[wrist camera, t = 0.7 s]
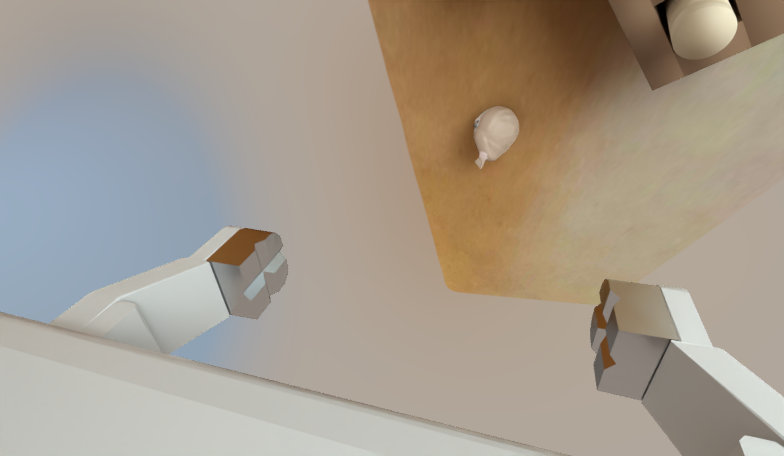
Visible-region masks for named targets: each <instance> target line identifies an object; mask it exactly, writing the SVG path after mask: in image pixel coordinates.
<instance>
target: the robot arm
mask: <svg viewBox="0 0 784 456" xmlns="http://www.w3.org/2000/svg"><path fill="white" fill-rule="evenodd" d="M282 247H283V244H282V241H281V238H280V236H279V235H278V234H276V233H273V232H267V231H261V230H255V229H248V228H242V227H234V226H227V227H224V228H223V229H222V230H220V231H219V232H218V233H217V234H216V235H215V236H213V237H212V238H211V239H210V240H209V241H208V242H207V243H205V244H204V245H203V246H202V247H201V248H199V249H198V250H197V251H196V252H195V253H194V254H192V255H191V256H190V257H189V258H181V259H178V260H176V261H173V262H170V263H168V264H165V265H162V266H160V267H157V268H154V269H152V270H149V271H146V272H144V273H141V274H138V275H135V276H133V277H130V278H128V279H125V280H122V281H119V282H117V283H114V284H111V285H109V286H107V287H103V288H101V289H98V290H96V291H93V292H90V293H89V294H88V295H86V296H85V297H84V298H82V299H81V300H80V301H79V302H77V303H76V304H74V305H73V306H72V307H70V308H69V309H68V310H67V311H65V312H64V313H63V314H61V315H60V316H59V317H57V318H56V319H55V320H53V321H52V322H51V323H49V324H46V323H43V322H39V321H35V320H30V319H27V318H23V317H19V316H15V315H11V314H7V313H3V312H0V456H570V455H566V454H561V453H558V452H554V451H550V450H546V449H542V448H538V447H534V446H530V445H526V444H522V443H518V442H514V441H510V440H506V439H502V438H498V437H494V436H490V435H486V434H483V433H479V432H474V431H470V430H466V429H462V428H459V427H455V426H451V425H447V424H443V423H439V422H435V421H431V420H427V419H423V418H419V417H415V416H411V415H407V414H403V413H399V412H395V411H391V410H387V409H383V408H379V407H375V406H372V405H368V404H364V403H360V402H355V401H352V400H348V399H344V398H340V397H336V396H332V395H328V394H324V393H320V392H316V391H312V390H308V389H304V388H300V387H296V386H292V385H289V384H284V383H280V382H277V381H273V380H269V379H265V378H261V377H257V376H253V375H249V374H245V373H241V372H237V371H233V370H229V369H225V368H221V367H217V366H213V365H209V364H205V363H201V362H197V361H194V360H189V359H186V358H182V357H177V356H174V355H170V353H171V352H173V351H174V350H176V349H178V348H179V347H181V346H182V345H184V344H186V343H187V342H189V341H190V340H192V339H194V338H195V337H197V336H199V335H200V334H202V333H203V332H205V331H207V330H208V329H210V328H211V327H213V326H215V325H216V324H218V323H220V322H221V321H223V320H224V319H226V318H228V317H229V316H230V315H235V316H240V317H247V318H252V319H258V318H259V316H260V315H261V314H262V313H263V311H264V310H265V309H266V307H267V306H268V305H269V304H270V295H272V294H274V293H276V292H278V291H280V289H281V288H282V287H283V285H284V284H285V281H286V278H287V275H288V264H287V260H286V258H285V257H284V256H283V255H282V254H281V252H280V250H281V248H282ZM599 293H600V300H601V304H599V305H598V306H596V307H595V309H594V312H593V316H592V321H591V329H590V338H591V348H592V349H593V350H594V351H595V353H596V354H597V355H596V359H595V361H594V371H595V379H596V386H597V390H599V391H603V392H608V393H612V394H616V395H620V396H625V397H629V398H633V399H637V400H641V401H642V404H643V405H644V406H645V408H646V409H647V410H648V412H649V413H650V414H651V416H652V417H653V418H654V419H655V421H656V422H657V423H658V425H659V426H660V427H661V428H662V430H663V431H664V433H665V434H666V435H667V436H668V437H669V439H670V440H671V442H672V443H673V444H674V445H675V447H676V448H677V449H678V451H679V452H680V453H681V455H682V456H784V397H783V396H782V395H780V394H779V393H778V392H776V391H775V390H774V389H773V388H771V387H770V386H769V385H767V384H766V383H765V382H764V381H762V380H761V379H760V378H759V377H757V376H756V375H755V374H753V373H752V372H751V371H750V370H748V369H747V368H746V367H744V366H743V365H742V364H741V363H739V362H738V361H737V360H735V359H734V358H733V357H732V356H730V355H729V354H728V353H726V352H725V351H724V350H723V349H720V348H714V347H713V346H712V344H711V341H710V340H709V337H708V335H707V333H706V330H705V328H704V326H703V324H702V321H701V319H700V317H699V315H698V312H697V310H696V308H695V306H694V303H693V301H692V299H691V297H690V294H689V292H688V291H687V290H686V289H684V288H678V287H669V286H661V285H657V286H654V285H647V284H640V283H633V282H625V281H618V280H610V279H605V280H604V282H603V283H602V286H601V289H600V292H599Z"/></svg>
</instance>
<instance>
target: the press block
mask: <svg viewBox="0 0 784 456" xmlns="http://www.w3.org/2000/svg"><path fill="white" fill-rule="evenodd" d="M608 1H609V3H610V5H611V7H612V9H613V11H614V13H615V16H616V18H617V20H618V22H619V24H620V26H621V28H622V30H623V32H624V34H625V36H626V38H627V40H628V42H629V44H630V46H631V48H632V50H633V52H634V54H635V56H636V58H637V60H638V62H639V64H640V66H641V68H642V70H643V72H644V74H645V76H646V78H647V80H648V82H649V84H650V87H651V89H652V90H655V89H657V88H659V87H662V86H664V85H666V84H669V83H671V82H673V81H675V80H678V79H680V78H682V77H685V76H687V75H689V74H691V73H694V72H696V71H698V70H701V69H703V68H705V67H707V66H710V65H712V64H714V63H717V62H719V61H721V60H724V59H726V58H728V57H730V56H733V55H735V54H737V53H740V52H742V51H744V50H746V49H749V48H751V47H753V46H756V45H758V44H760V43H762V42H765V41H767V40H769V39H772V38H774V37H776V36H779V35H781V34H783V33H784V0H728V1H729V3H730V5H731V7H732V10H733V12H734V14H735V16H736V18H737V30H736V33H735V35H734V37H733V39H732V40H731V41H730V43H729V44H728V45H727V46H726V47H725V48H724V49H722V50H721V51H719V52H718V53H716V54H714V55H712V56H710V57H707V58H704V59H698V60H690V59H685V58H682V57H680V56H679V55H678V54H677V53H676V52H675V51H674V49H673V46H672V41H671V36H670V31H669V26H668V21H667V16H666V11H665V8H664V6H663V3H662V2H663V1H664V0H608Z"/></svg>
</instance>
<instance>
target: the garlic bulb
mask: <svg viewBox="0 0 784 456" xmlns="http://www.w3.org/2000/svg"><path fill="white" fill-rule="evenodd" d="M474 127H475V129H474V140H475V142H476V146H477V149H478V151H479V159H477V160H476V161H475V163H476V164H477V165H478V166H479V168H480V169H481V168H482V167H483V165H484V162H485V160H486V161H494V160H496V159H497V158H499V157H500V156H501V155H502V154H504V153H505V152H506V151H507V150H508V149H509V148H510V146H511V145H512V144H513V143H514V142H515V140H516V138H517V136H518V134H519V122H518V119H517V117H516V116H515V114H514V113H513V112H512V110H510V109H509V108H506V107H502V106H494V107H492V108H489V109H487V110H485V111H484V112H483V113H481V114H480V116H479V117H478V118H477V119H476V120H475V124H474Z"/></svg>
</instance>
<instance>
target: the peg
mask: <svg viewBox="0 0 784 456" xmlns="http://www.w3.org/2000/svg"><path fill="white" fill-rule="evenodd" d="M664 6H665V11H666V16H667V21H668V26H669V31H670V36H671V41H672V46H673V49H674V51H675V52H676V53H677V54H678V55H679V56H680V57H682V58H685V59H690V60H698V59H704V58H707V57H710V56H712V55H714V54H716V53H718V52H719V51H721V50H722V49H724V48H725V47H726V46H727V45H728V44H729V43H730V41H731V40H732V39H733V37H734V35H735V33H736V30H737V18H736V16H735V14H734V12H733V10H732V7H731V5H730V3H729V1H728V0H664Z"/></svg>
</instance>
